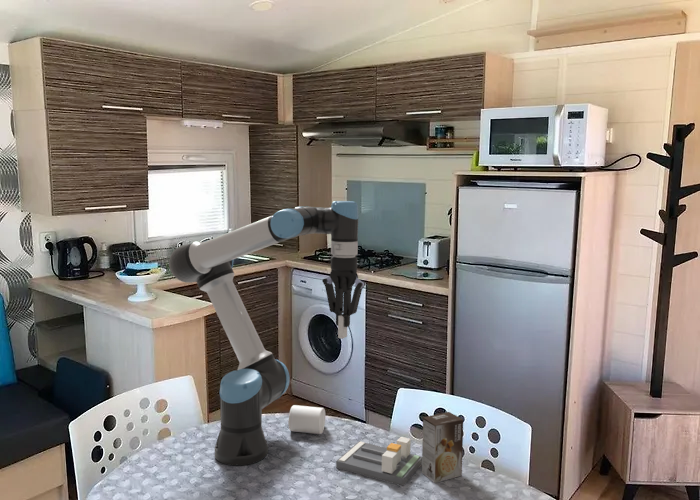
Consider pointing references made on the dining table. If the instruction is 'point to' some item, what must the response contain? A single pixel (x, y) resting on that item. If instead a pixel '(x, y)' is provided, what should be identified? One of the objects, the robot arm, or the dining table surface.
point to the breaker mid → (395, 450)
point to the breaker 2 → (404, 446)
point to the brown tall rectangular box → (442, 446)
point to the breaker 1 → (389, 462)
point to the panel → (377, 463)
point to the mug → (306, 419)
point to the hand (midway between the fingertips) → (342, 337)
